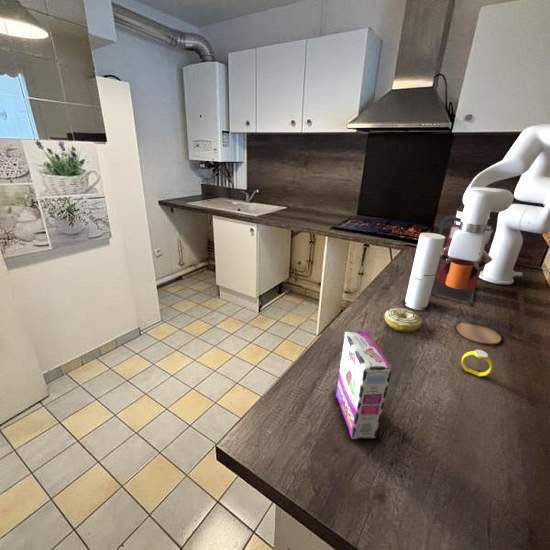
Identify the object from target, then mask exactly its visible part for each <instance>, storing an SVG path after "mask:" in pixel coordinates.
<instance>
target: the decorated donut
mask: <svg viewBox="0 0 550 550" xmlns="http://www.w3.org/2000/svg"><path fill="white" fill-rule="evenodd" d="M384 320H385V323H386V325H388V326H389V327H390V328H392V329H393V330H396V331H397V332H402V333H413V332H416V331H417V330H418V329H420V328H421V326H422V324H423V320H422V318H421V317H420V315H418V314H417V313H415V312H414V311H412V310H410V309H407V308H404V307H395V308H390V309H388V310H386V311H385V313H384Z"/></svg>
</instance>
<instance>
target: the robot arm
mask: <svg viewBox="0 0 550 550" xmlns="http://www.w3.org/2000/svg"><path fill="white" fill-rule="evenodd" d="M518 176H520V178H519V181H518V182H517V184H516V186H515V189H514V193H512V192H511V191H510V190H508V189H506V188H505V189H504V188H495V187H488V186H489V185H491V184H493V183H496V182H498V181H503V180H506V179H509V178H515V177H518ZM514 199H516V201H520V202H526V203H532V204H542V205H544V207H543V206H536V205H529V204H521V203H513V202H514ZM463 204H464V205H465V207H464V211H463V214H462V218H461V222H460V226H459V229H456V231H455V233H454V235H453V238H452V241H451V244H450V245H449V246H447V247H446V246H444V247H443V248H442V251H441V255H440V257H441V258H442V260H443V259H444V261H445V263H446V264H445V268H444V270H445V271H446V273H445V274H448V271H449V267H450V263H451V262H450V261H451V260H452V259H453V258H456V259H462V260H468V261H473V263H474V267H473V270H472V274H471V277H470V278H471V279H473V276H475V277H476V273H477V270H478V269H479V268H480V267H482V268H483V270H481V272H480V275H479V278H478V279H481V280H483V281H485V282H489V283H492V284H496V285H506V286H508V285H512V284H514V281H515V280H514V278H515V277H518V278H520V277H523V275H524V274H523V272H522V271H515V270H514V268H515V265H516V262H517V260H518V257H519V254H520V252H521V249H522V246H523V242H524V238H523V235H522V233H521V231H523V232H528V233H533V234H538V235H539V234H541V235H543V234H547V233H550V122H549V123H540V124H535V125H531V126H528V127H526V128H524V129H523V130H522V131H521V132H520V134H519V136H517V139H516V140H515V141H514V142H513V144H512V146H511V147H510V148H509V150H508V151H507V152H506V154H505V156H504V157H503V159H502V160H500V161H498V162H496V163H493V164H491V165H490V166H489V167H487V168H485V169H483V170H482V171H481V172H479V173H478V174H477V175H476V176H475V177H473V179H472V181H471V182H470V184H469V185H468V186H467V188H466V189H465V192H464V193H463V196H462V205H463ZM491 213H498V215H497V221H496V222H497V223H496V228H495V229H496V230H495V233H494V236H493V239H492V242H491V245H490V248H489V251H488V253H486V252H485V251H484V247H485V242H486V232H484V231H486V230H490V229H492V226H490V225H488V221H489V219H488V218H489V217H490V214H491ZM448 250H449V252H448V256H449V257H447V256H446V254H445V251H448ZM482 256H483V257H484V258H485V259H484V261H482V262H480V263H479V261H480V260H481V258H482Z"/></svg>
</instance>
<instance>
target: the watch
mask: <svg viewBox="0 0 550 550" xmlns="http://www.w3.org/2000/svg"><path fill="white" fill-rule="evenodd" d="M470 356H475V357H476V358H477V359H480V360H485V361H486V362H487V363H488V364H489V368H488V369H487V370H485V371H481V372H479V371H477V370H475V369H472V368H470V367H468V366H467V365H466V363H465V359H466V358H467V357H470ZM461 366H462V369H464V371H465V372H468V373H470V374H473V375H475V376H477V377H486V376H488V375H490V374H491V373H492V370H493V361H492V359H491V358H490V357H489V354H488V353H487V351H484V350H482V349H474V351H473V350H472V351H471V350H470V351H468V352H466V353H464V354H463V356H462V357H461Z"/></svg>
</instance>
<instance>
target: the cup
mask: <svg viewBox="0 0 550 550" xmlns="http://www.w3.org/2000/svg"><path fill="white" fill-rule="evenodd" d="M473 267H474V264H473V263H472V262H469V261H466V260H461V259H454V260H451V263H450V267H449V271H448V274H447V278H446V282H445V284H446V285H447V286H449V287H451V288H455V289H467V287H468V284H469V281H470V277H471V274H472V270H473Z"/></svg>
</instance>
